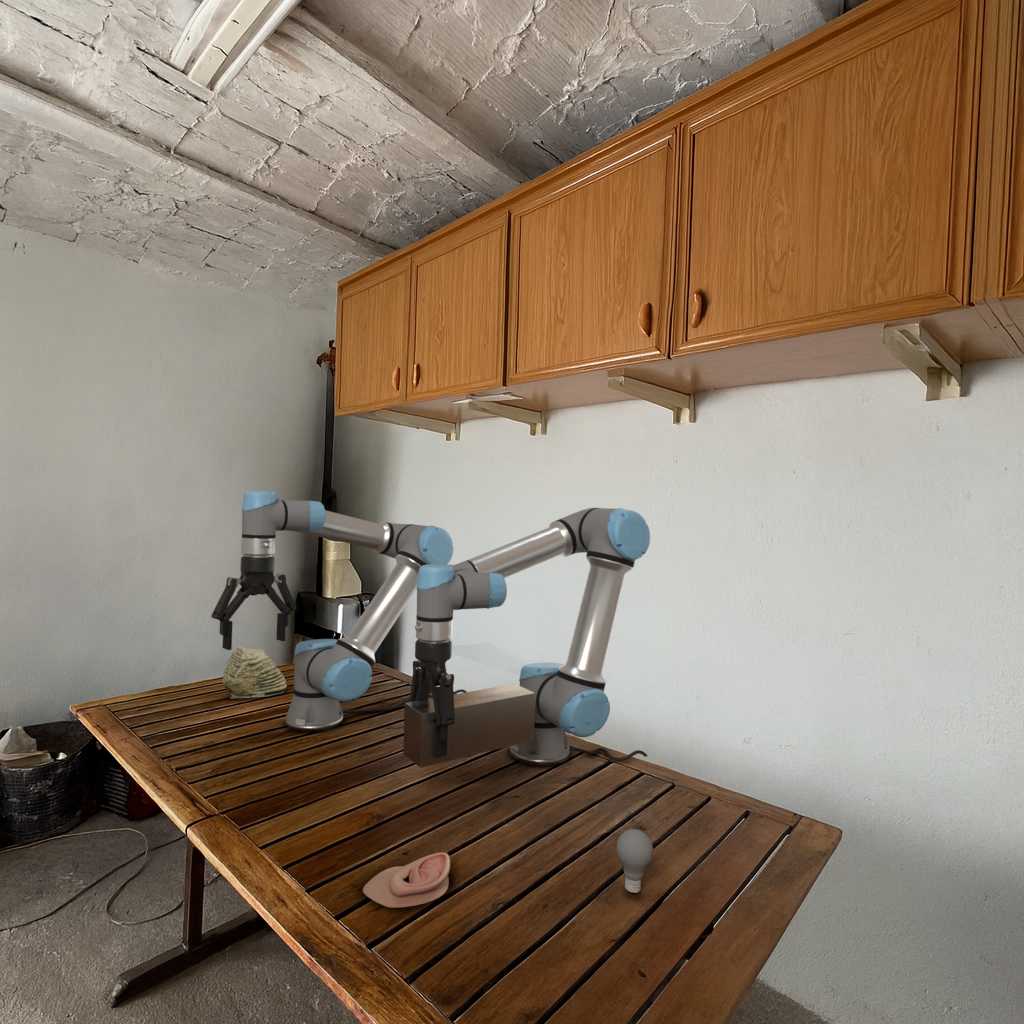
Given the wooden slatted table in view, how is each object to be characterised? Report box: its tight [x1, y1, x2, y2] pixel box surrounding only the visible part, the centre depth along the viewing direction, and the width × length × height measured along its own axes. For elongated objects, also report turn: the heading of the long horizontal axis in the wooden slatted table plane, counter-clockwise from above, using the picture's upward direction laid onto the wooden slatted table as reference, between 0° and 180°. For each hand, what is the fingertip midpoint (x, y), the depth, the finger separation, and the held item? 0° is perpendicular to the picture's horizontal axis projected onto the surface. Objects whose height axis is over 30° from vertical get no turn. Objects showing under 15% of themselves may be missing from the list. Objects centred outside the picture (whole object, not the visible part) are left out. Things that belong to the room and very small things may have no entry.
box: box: [402, 683, 535, 769], centre depth 137 cm, size 28×8×11 cm, turn 125°
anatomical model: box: [362, 851, 451, 909], centre depth 104 cm, size 13×4×12 cm
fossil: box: [222, 646, 288, 699], centre depth 198 cm, size 9×18×15 cm, turn 132°
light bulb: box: [615, 828, 654, 894], centre depth 106 cm, size 6×6×10 cm
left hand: (254, 644), depth 151 cm, fingers open, 13 cm apart
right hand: (429, 748), depth 131 cm, fingers closed on box, 8 cm apart
